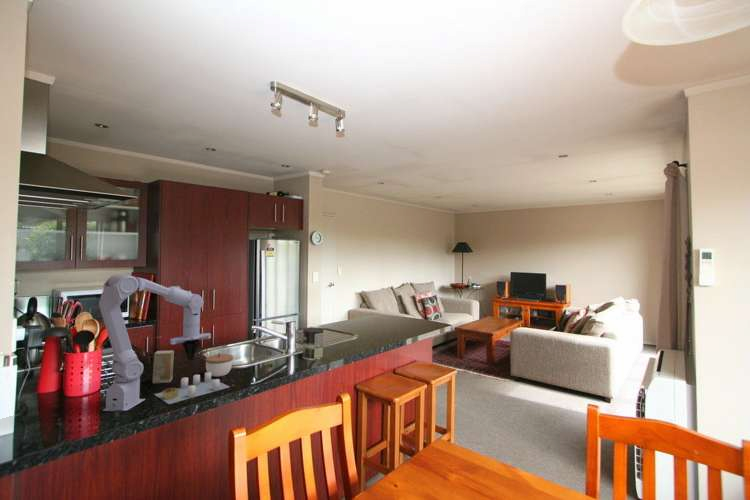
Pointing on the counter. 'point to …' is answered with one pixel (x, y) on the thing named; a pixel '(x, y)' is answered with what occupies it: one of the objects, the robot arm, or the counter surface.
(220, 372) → the lidded jar
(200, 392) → the board
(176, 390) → the nut
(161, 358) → the skincare box
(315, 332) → the coffee can
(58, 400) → the counter surface
